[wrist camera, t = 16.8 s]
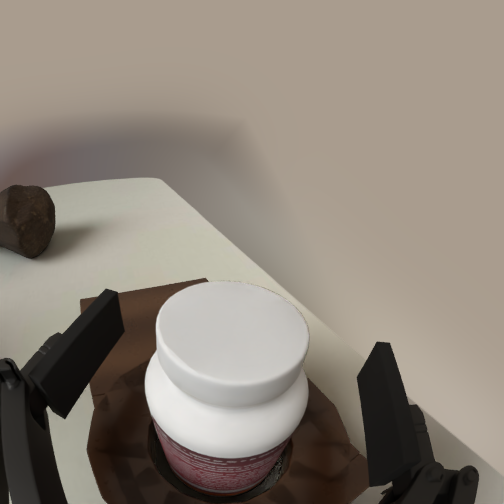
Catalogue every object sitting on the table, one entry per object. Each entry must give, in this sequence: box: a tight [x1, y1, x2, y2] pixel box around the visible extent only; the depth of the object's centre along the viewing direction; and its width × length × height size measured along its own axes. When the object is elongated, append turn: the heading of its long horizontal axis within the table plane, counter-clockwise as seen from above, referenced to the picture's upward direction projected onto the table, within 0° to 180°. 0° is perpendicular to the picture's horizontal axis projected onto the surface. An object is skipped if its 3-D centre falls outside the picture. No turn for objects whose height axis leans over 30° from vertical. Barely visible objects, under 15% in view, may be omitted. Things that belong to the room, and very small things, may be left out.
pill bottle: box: [145, 281, 310, 497], centre depth 10 cm, size 6×6×11 cm
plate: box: [80, 278, 369, 504], centre depth 15 cm, size 22×14×2 cm, turn 32°
